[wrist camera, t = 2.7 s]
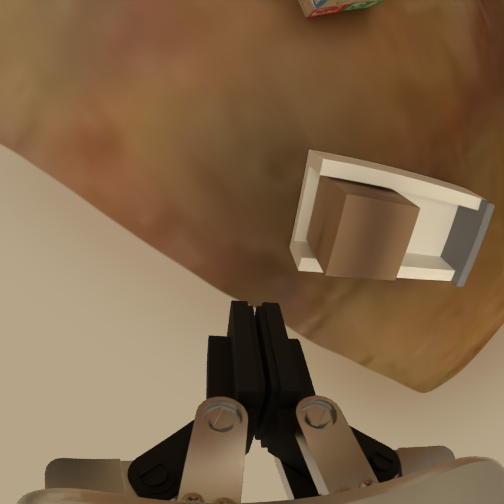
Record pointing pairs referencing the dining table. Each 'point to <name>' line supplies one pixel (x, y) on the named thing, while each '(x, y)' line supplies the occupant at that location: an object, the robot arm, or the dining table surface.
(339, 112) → the dining table surface
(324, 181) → the walnut block
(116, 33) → the dining table surface
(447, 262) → the chute
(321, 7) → the stack of blocks
